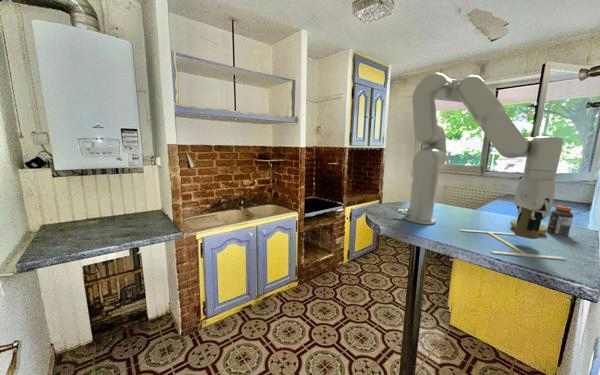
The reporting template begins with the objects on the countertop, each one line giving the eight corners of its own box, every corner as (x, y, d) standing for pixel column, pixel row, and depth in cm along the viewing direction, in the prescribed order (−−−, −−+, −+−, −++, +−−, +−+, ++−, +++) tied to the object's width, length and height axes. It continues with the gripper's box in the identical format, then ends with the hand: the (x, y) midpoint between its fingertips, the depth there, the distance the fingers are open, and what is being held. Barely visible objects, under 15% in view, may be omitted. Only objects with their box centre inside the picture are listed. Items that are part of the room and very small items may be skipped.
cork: (527, 232, 85) (534, 202, 83) (542, 239, 79) (550, 207, 77) (509, 231, 86) (515, 201, 84) (523, 238, 80) (530, 206, 78)
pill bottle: (544, 229, 99) (551, 203, 97) (565, 233, 96) (572, 206, 94) (548, 234, 94) (555, 206, 92) (570, 238, 91) (578, 209, 89)
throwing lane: (493, 253, 76) (493, 252, 75) (459, 230, 95) (460, 229, 95) (565, 260, 73) (565, 258, 73) (515, 234, 93) (515, 233, 93)
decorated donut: (526, 236, 92) (528, 226, 91) (502, 226, 103) (504, 217, 102) (553, 236, 92) (555, 227, 92) (527, 226, 103) (529, 218, 102)
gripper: (508, 171, 87) (498, 219, 91) (548, 178, 71) (534, 236, 75) (531, 172, 86) (520, 221, 90) (577, 179, 70) (562, 238, 74)
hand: (527, 227), depth 82 cm, fingers closed on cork, 3 cm apart
